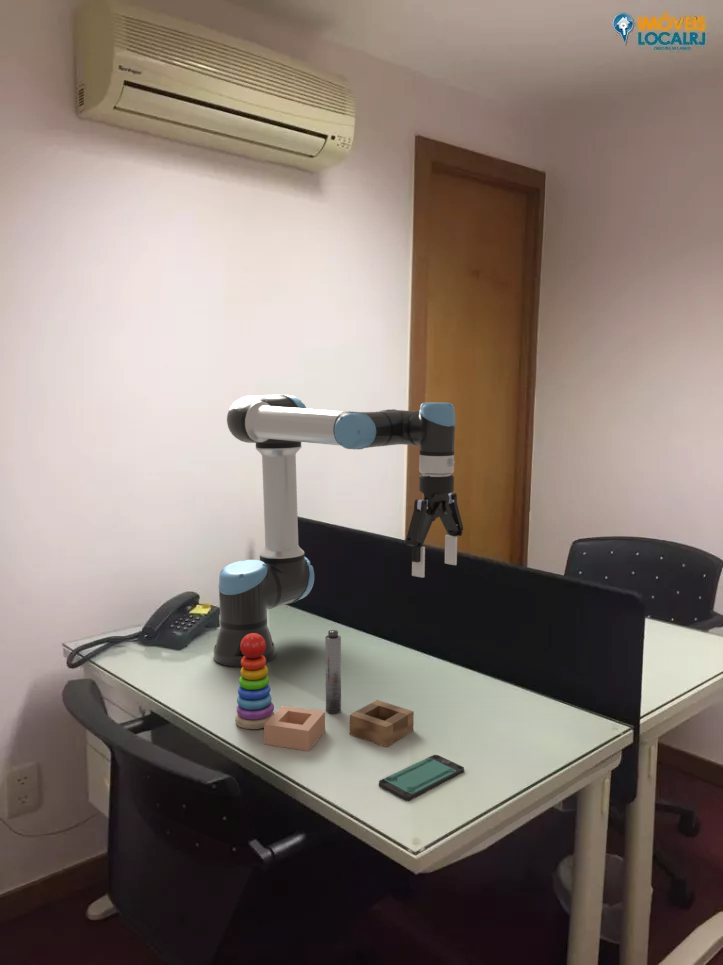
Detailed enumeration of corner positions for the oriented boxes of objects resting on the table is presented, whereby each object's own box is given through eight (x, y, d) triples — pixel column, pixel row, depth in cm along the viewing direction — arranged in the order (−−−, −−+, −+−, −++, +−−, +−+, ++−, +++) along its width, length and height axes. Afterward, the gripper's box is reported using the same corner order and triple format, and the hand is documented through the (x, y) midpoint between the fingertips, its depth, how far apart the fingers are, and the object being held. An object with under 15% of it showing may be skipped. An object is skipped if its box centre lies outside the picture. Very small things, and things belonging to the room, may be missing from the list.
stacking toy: (231, 717, 162) (229, 629, 160) (269, 711, 165) (268, 625, 162) (239, 733, 155) (237, 641, 152) (279, 727, 158) (278, 636, 155)
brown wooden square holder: (349, 734, 155) (349, 714, 154) (376, 718, 162) (377, 699, 161) (386, 747, 149) (386, 727, 149) (413, 730, 156) (413, 711, 156)
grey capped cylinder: (322, 711, 165) (322, 631, 163) (332, 706, 168) (332, 628, 165) (334, 715, 163) (334, 635, 161) (344, 709, 166) (344, 631, 163)
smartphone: (465, 766, 140) (407, 796, 130) (465, 773, 140) (407, 803, 130) (434, 752, 145) (376, 779, 135) (434, 758, 146) (376, 786, 135)
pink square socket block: (264, 744, 150) (264, 724, 150) (283, 724, 159) (282, 705, 158) (308, 751, 148) (308, 730, 147) (325, 730, 156) (325, 711, 156)
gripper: (420, 481, 158) (418, 584, 161) (479, 470, 178) (477, 561, 181) (389, 478, 163) (388, 578, 166) (450, 467, 182) (449, 557, 185)
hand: (434, 570), depth 173 cm, fingers open, 13 cm apart
